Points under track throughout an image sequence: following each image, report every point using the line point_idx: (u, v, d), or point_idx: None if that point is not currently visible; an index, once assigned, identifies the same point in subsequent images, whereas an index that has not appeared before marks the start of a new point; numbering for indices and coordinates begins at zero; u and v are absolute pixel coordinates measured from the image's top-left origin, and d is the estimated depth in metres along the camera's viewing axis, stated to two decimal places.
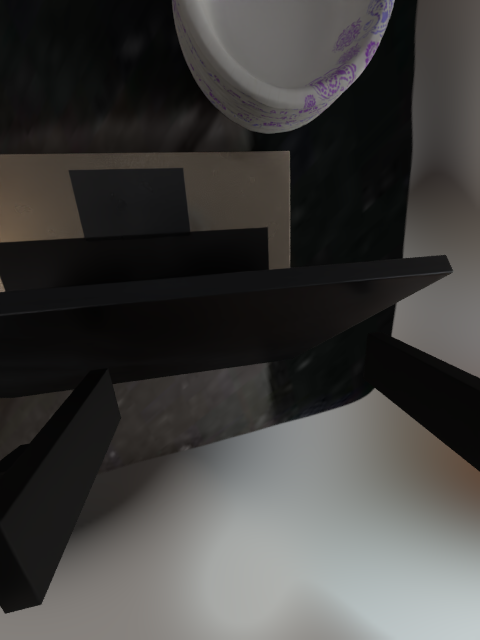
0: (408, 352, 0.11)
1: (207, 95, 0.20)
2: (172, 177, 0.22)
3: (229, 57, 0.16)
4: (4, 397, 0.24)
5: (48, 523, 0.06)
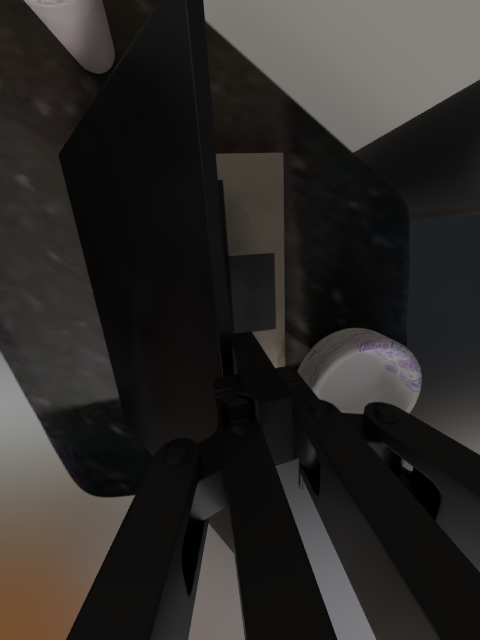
0: (250, 349, 0.12)
1: (314, 347, 0.32)
2: (270, 322, 0.31)
3: (331, 371, 0.28)
4: (61, 152, 0.22)
5: None
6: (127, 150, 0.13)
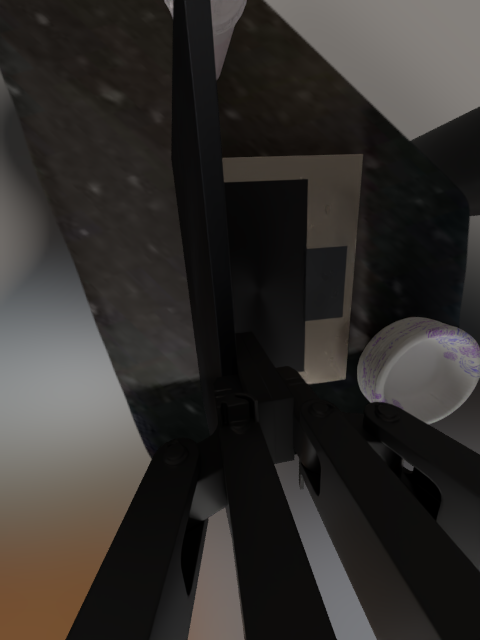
0: (250, 349, 0.12)
1: (378, 334, 0.34)
2: (337, 310, 0.34)
3: (400, 356, 0.31)
4: (171, 156, 0.25)
5: None
6: (181, 146, 0.14)
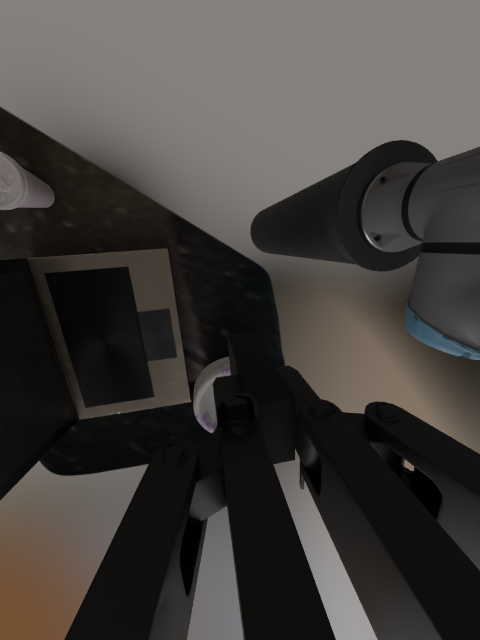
0: (251, 349, 0.12)
1: (203, 370, 0.46)
2: (172, 353, 0.46)
3: (205, 388, 0.43)
4: None
5: None
6: None
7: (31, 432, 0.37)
